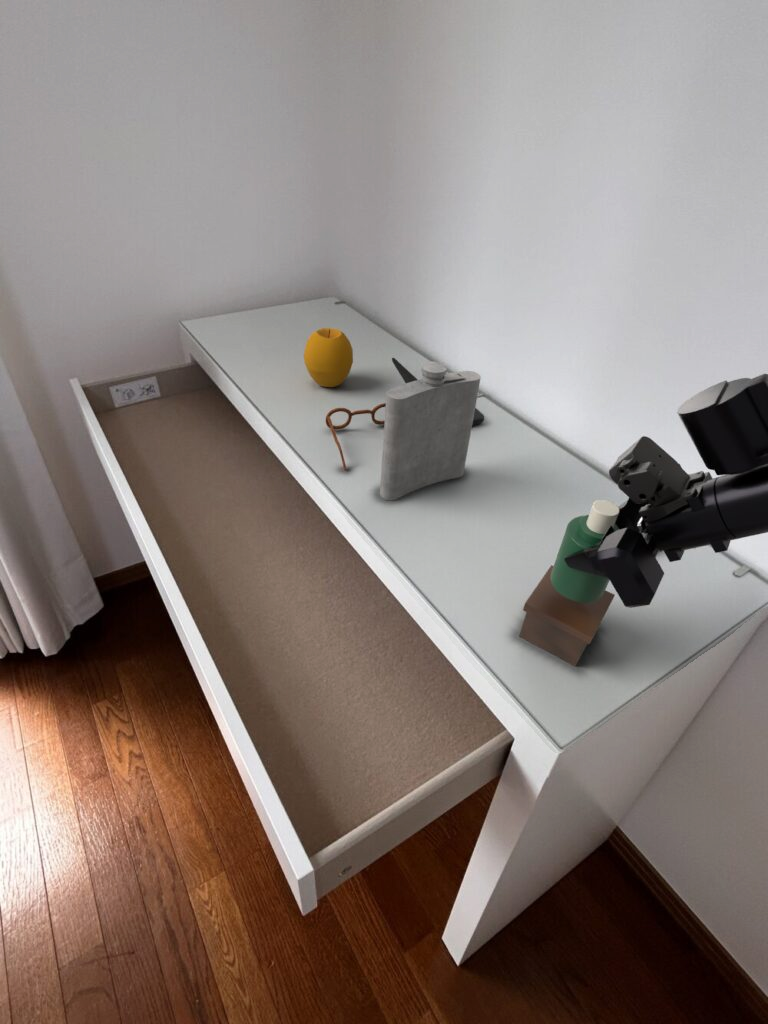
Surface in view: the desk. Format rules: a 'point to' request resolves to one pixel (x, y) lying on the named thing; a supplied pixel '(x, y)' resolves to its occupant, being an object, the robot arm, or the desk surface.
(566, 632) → the brown lidded box
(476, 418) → the game console
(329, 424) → the glasses
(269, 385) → the desk surface
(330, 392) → the desk surface
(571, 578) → the bottle
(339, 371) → the apple
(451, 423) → the hip flask
